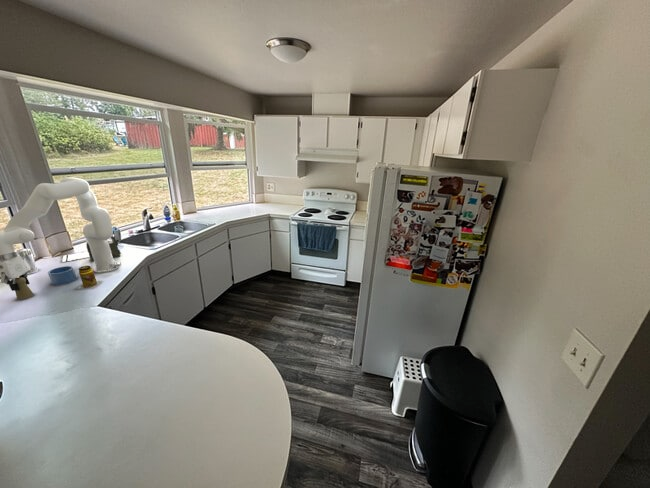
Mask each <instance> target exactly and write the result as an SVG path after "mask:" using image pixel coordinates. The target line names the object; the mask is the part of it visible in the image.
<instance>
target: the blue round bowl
mask: <svg viewBox="0 0 650 488" xmlns="http://www.w3.org/2000/svg"><path fill="white" fill-rule="evenodd" d="M47 274H48V277H49V280H50V282H51V285H53V286H62V285H68V284H71V283H73V282H75V281H76V280H77V275H76V272H75V270H74V267H73V266H70V265H64V266H58V267H55V268H53V269H50V270H48V271H47Z"/></svg>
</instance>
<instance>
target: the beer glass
mask: <svg viewBox="0 0 650 488" xmlns="http://www.w3.org/2000/svg"><path fill="white" fill-rule="evenodd" d="M15 250H16V252H17V254H18V255H20V257H21V258H22V259H23V260H24V262H25V264H26V265H27V267H28V272H27V275H29V274H34V273H37V272H39V269H38V267H37V266H36V263H35V256H34V253H33V251H32V250H31V248H19V249H15Z"/></svg>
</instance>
